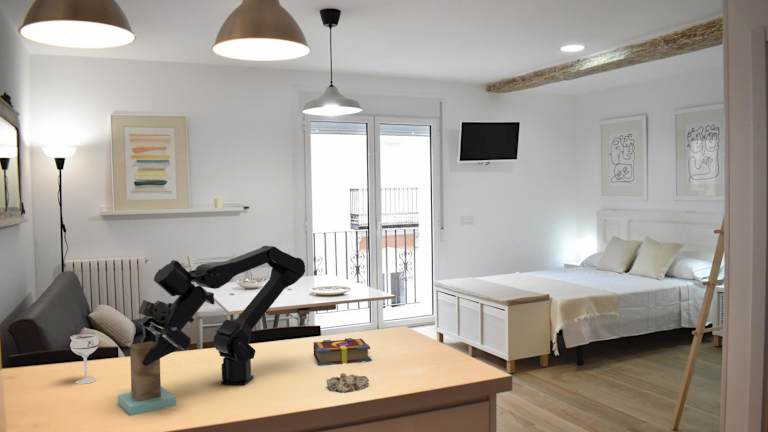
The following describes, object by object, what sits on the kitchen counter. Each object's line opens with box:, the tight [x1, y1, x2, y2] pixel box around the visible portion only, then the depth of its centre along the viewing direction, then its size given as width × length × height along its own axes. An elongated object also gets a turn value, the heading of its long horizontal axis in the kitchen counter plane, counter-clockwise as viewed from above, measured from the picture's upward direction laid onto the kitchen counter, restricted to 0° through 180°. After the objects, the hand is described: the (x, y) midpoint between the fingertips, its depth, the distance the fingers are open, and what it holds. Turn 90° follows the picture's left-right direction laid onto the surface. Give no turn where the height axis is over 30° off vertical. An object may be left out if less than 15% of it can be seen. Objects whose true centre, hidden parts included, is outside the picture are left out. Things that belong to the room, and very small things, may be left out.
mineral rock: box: [325, 372, 370, 394], centre depth 150 cm, size 11×4×8 cm
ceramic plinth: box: [117, 385, 177, 417], centre depth 140 cm, size 10×10×2 cm
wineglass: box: [69, 332, 100, 385], centre depth 158 cm, size 7×7×12 cm
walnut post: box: [129, 341, 162, 401], centre depth 139 cm, size 5×5×12 cm
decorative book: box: [313, 337, 371, 366], centre depth 176 cm, size 11×16×5 cm
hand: (139, 362), depth 138 cm, fingers open, 6 cm apart
